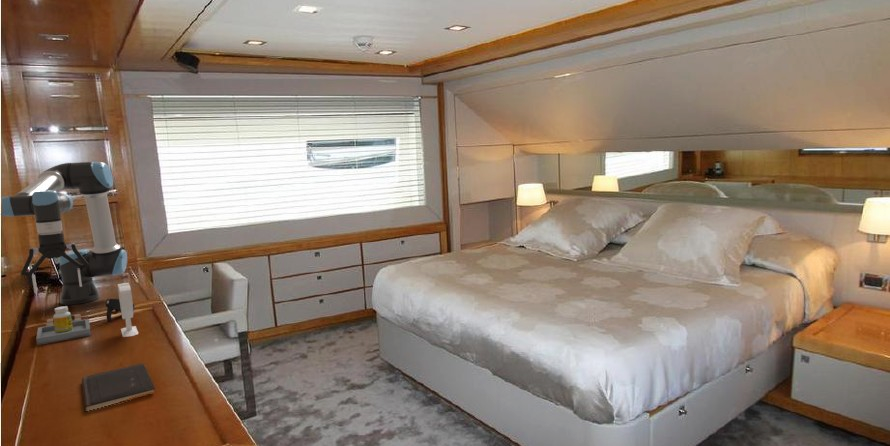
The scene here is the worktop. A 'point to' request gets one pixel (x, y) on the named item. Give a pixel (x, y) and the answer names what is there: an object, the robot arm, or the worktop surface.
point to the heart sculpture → (126, 309)
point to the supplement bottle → (62, 320)
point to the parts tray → (50, 336)
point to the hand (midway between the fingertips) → (58, 289)
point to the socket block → (73, 317)
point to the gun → (113, 307)
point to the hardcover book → (115, 386)
